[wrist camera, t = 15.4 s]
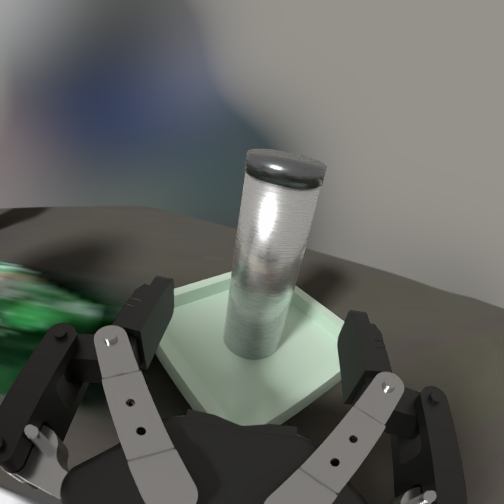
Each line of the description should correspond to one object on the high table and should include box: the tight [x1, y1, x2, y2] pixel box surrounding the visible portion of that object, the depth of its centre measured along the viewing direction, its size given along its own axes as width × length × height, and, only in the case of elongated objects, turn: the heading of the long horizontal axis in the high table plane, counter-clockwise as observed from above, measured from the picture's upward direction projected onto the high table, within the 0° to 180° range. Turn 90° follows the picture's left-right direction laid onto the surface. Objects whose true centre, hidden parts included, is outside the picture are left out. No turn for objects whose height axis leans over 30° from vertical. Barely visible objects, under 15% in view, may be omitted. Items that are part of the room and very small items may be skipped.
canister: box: [223, 149, 326, 360], centre depth 22 cm, size 5×5×16 cm
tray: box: [155, 272, 344, 426], centre depth 26 cm, size 16×16×2 cm
